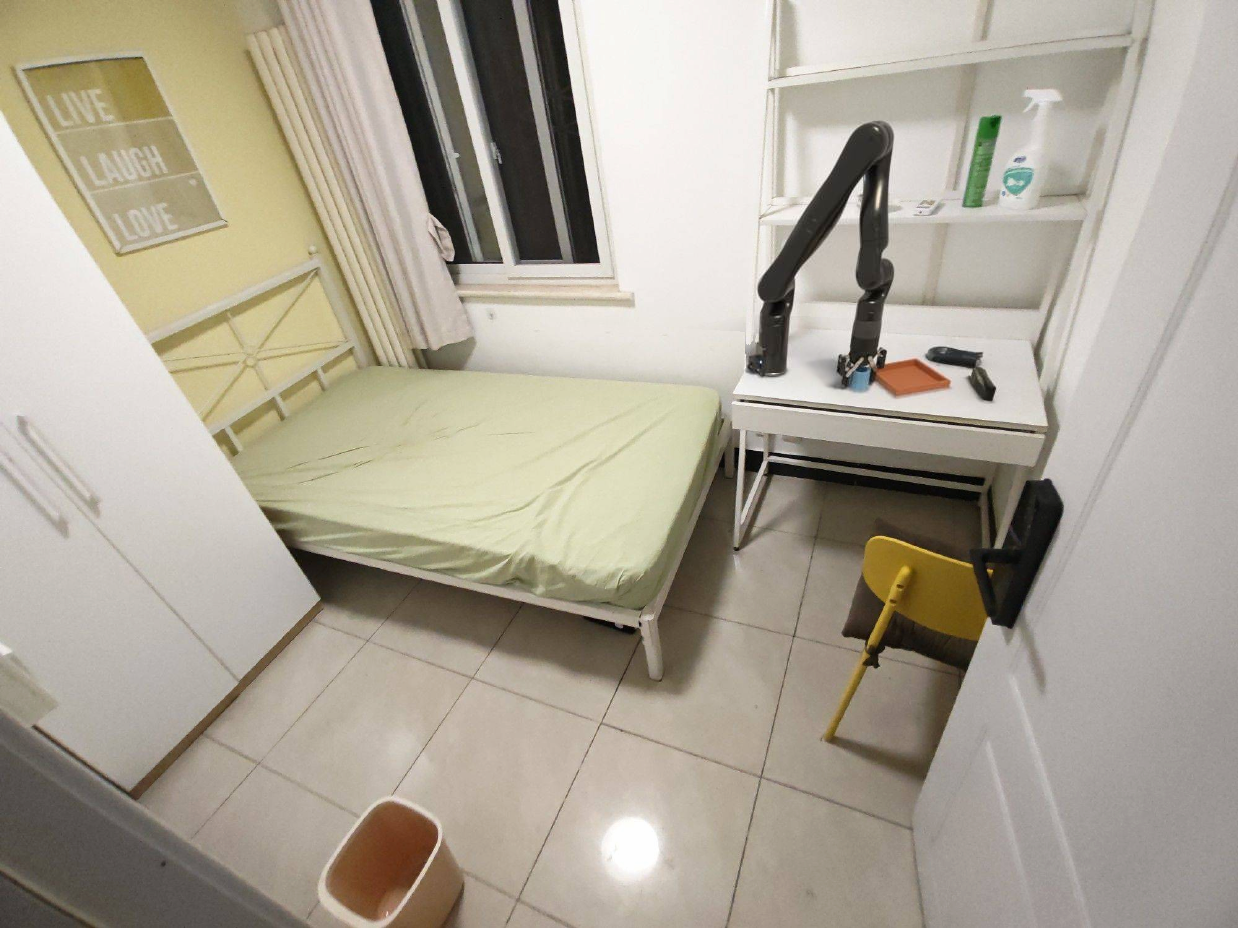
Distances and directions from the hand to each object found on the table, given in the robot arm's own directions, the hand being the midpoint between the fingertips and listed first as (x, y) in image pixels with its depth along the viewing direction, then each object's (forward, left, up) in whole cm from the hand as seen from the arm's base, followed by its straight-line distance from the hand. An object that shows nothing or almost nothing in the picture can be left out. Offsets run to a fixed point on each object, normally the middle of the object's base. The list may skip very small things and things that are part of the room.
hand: (857, 384), depth 168 cm
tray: (+15, -1, -1) cm, 15 cm away
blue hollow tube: (0, 0, -1) cm, 1 cm away
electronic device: (+35, +6, -1) cm, 36 cm away
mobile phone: (+30, -13, -1) cm, 33 cm away
